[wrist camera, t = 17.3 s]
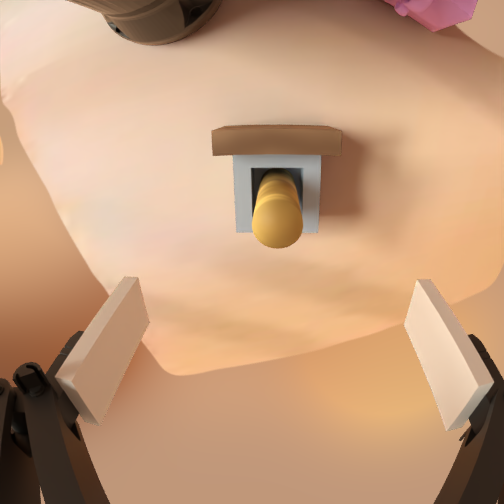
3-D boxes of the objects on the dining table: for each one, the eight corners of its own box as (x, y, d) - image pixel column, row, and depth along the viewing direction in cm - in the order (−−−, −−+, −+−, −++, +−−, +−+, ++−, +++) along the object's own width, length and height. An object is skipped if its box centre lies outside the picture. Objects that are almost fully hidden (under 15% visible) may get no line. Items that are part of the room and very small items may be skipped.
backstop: (224, 126, 34) (211, 131, 27) (327, 126, 33) (341, 130, 26) (225, 145, 35) (212, 155, 28) (327, 145, 34) (341, 156, 27)
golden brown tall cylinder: (260, 200, 37) (252, 248, 25) (260, 167, 35) (251, 200, 23) (294, 200, 36) (302, 248, 25) (294, 167, 35) (304, 201, 23)
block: (238, 145, 35) (232, 151, 31) (315, 145, 34) (321, 151, 30) (241, 217, 39) (236, 232, 35) (313, 217, 38) (318, 232, 34)
